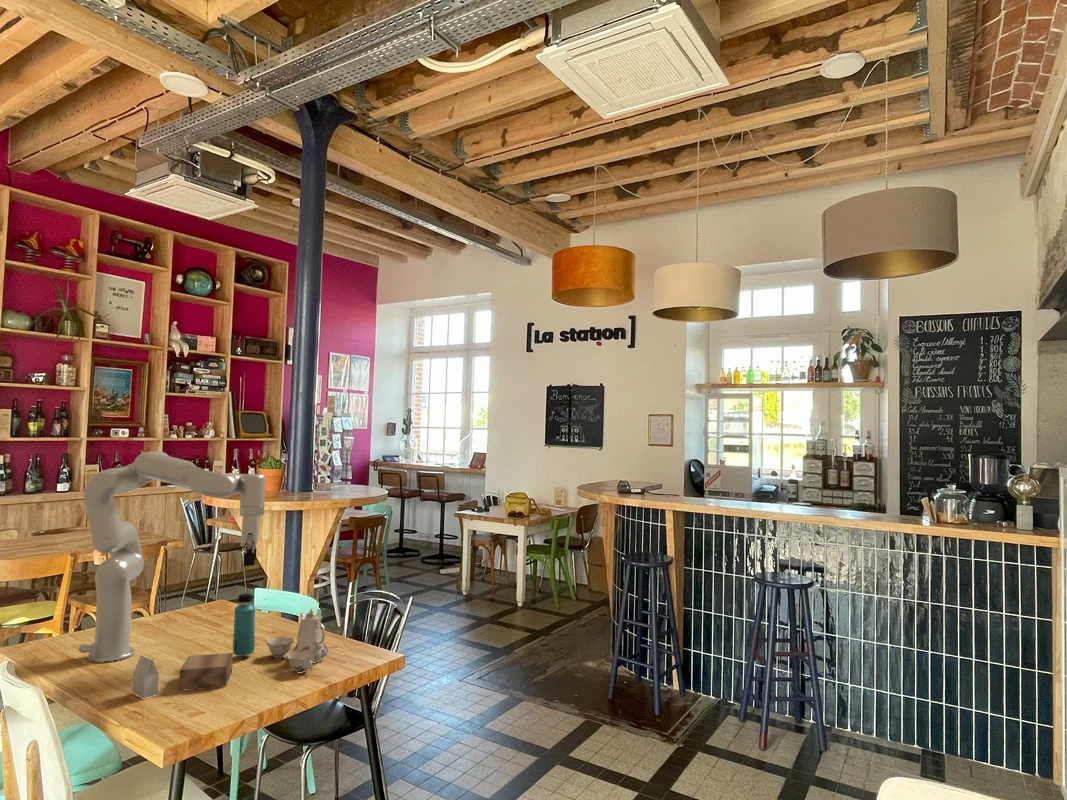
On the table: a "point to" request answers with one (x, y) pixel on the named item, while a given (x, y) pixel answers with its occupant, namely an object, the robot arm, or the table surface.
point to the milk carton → (145, 678)
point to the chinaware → (302, 643)
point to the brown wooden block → (206, 671)
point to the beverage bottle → (244, 626)
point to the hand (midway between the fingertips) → (249, 562)
